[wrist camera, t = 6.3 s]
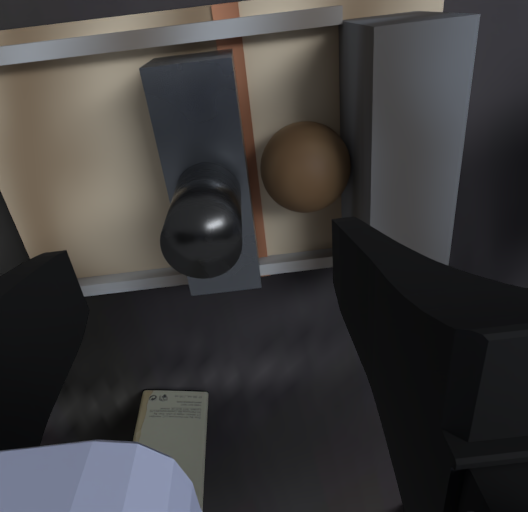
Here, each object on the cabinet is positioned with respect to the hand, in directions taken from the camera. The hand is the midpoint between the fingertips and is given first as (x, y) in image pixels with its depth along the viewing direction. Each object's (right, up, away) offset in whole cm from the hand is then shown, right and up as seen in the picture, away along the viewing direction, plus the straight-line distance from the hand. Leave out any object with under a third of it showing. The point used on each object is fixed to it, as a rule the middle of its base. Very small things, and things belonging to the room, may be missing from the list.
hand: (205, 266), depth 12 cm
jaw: (-1, +4, +7) cm, 8 cm away
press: (-1, +5, +9) cm, 10 cm away
